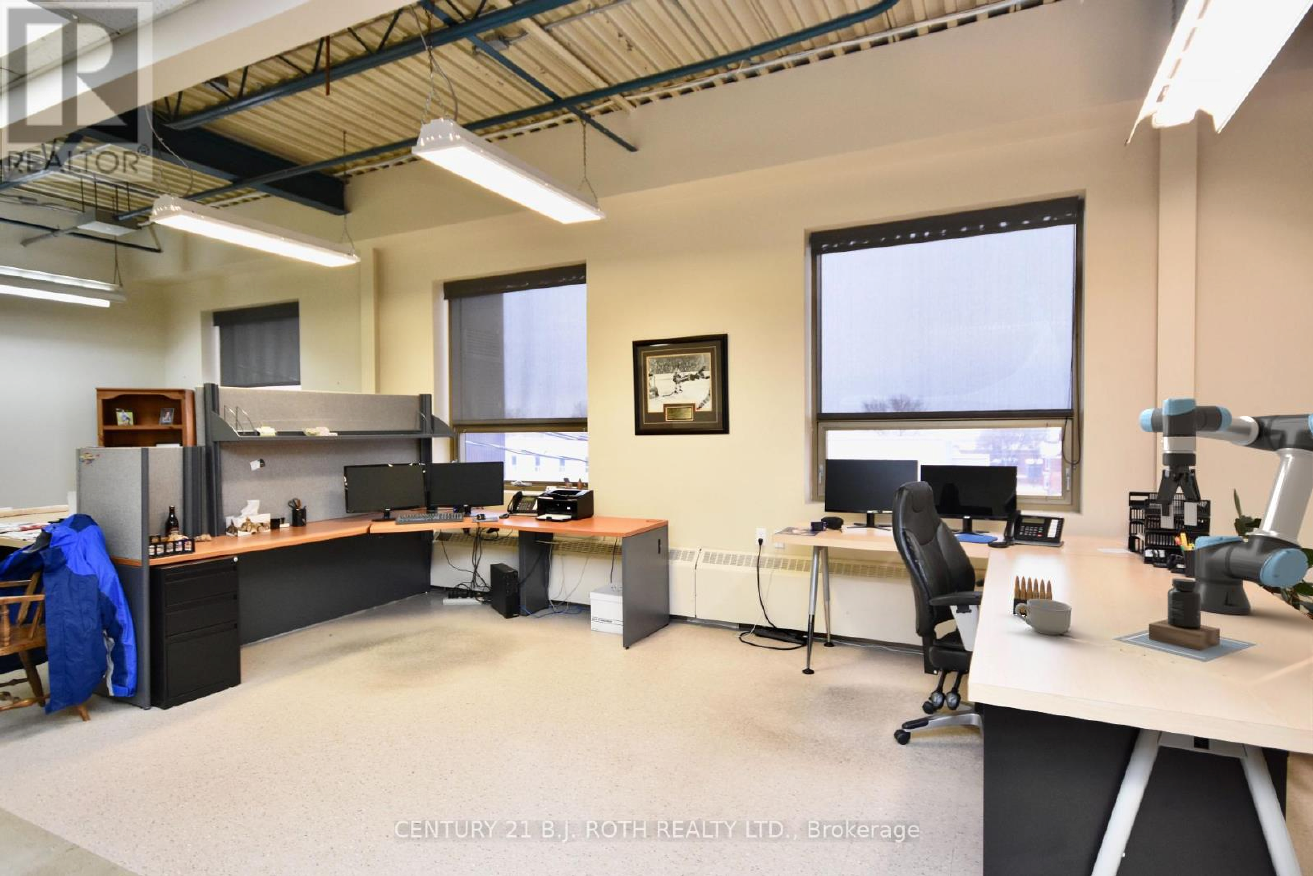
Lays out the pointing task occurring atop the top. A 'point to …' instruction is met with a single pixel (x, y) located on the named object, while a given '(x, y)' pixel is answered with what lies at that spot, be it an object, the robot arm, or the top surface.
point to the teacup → (1046, 616)
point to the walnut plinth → (1184, 635)
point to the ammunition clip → (1029, 593)
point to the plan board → (1202, 655)
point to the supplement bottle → (1184, 604)
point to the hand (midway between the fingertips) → (1179, 526)
